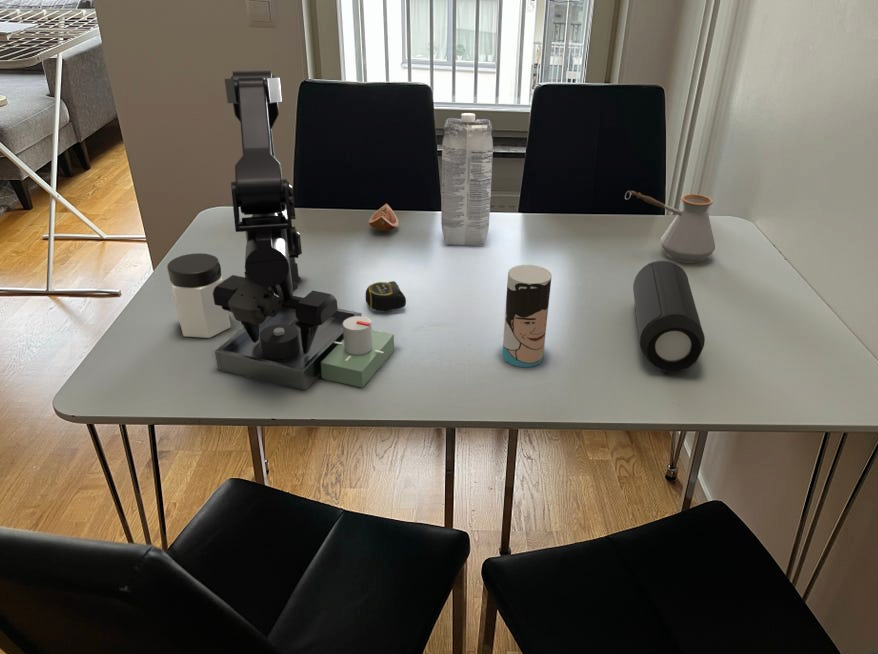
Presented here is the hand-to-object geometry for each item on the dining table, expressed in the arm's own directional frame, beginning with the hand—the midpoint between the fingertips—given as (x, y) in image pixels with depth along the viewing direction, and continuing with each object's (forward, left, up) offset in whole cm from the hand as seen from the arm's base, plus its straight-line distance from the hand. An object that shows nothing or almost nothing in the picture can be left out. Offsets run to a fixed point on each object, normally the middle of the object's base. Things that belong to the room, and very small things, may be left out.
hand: (281, 346), depth 112 cm
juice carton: (+11, +59, -3) cm, 60 cm away
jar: (-18, +5, -3) cm, 19 cm away
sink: (0, +4, -2) cm, 4 cm away
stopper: (0, 0, -2) cm, 2 cm away
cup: (+36, +16, -3) cm, 39 cm away
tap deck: (+12, +4, -2) cm, 13 cm away
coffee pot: (+54, +67, -3) cm, 86 cm away
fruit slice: (-8, +57, -3) cm, 57 cm away
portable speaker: (+57, +31, -3) cm, 65 cm away
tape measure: (+8, +24, -3) cm, 25 cm away
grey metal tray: (0, +4, -2) cm, 4 cm away
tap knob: (+12, +4, +1) cm, 13 cm away
